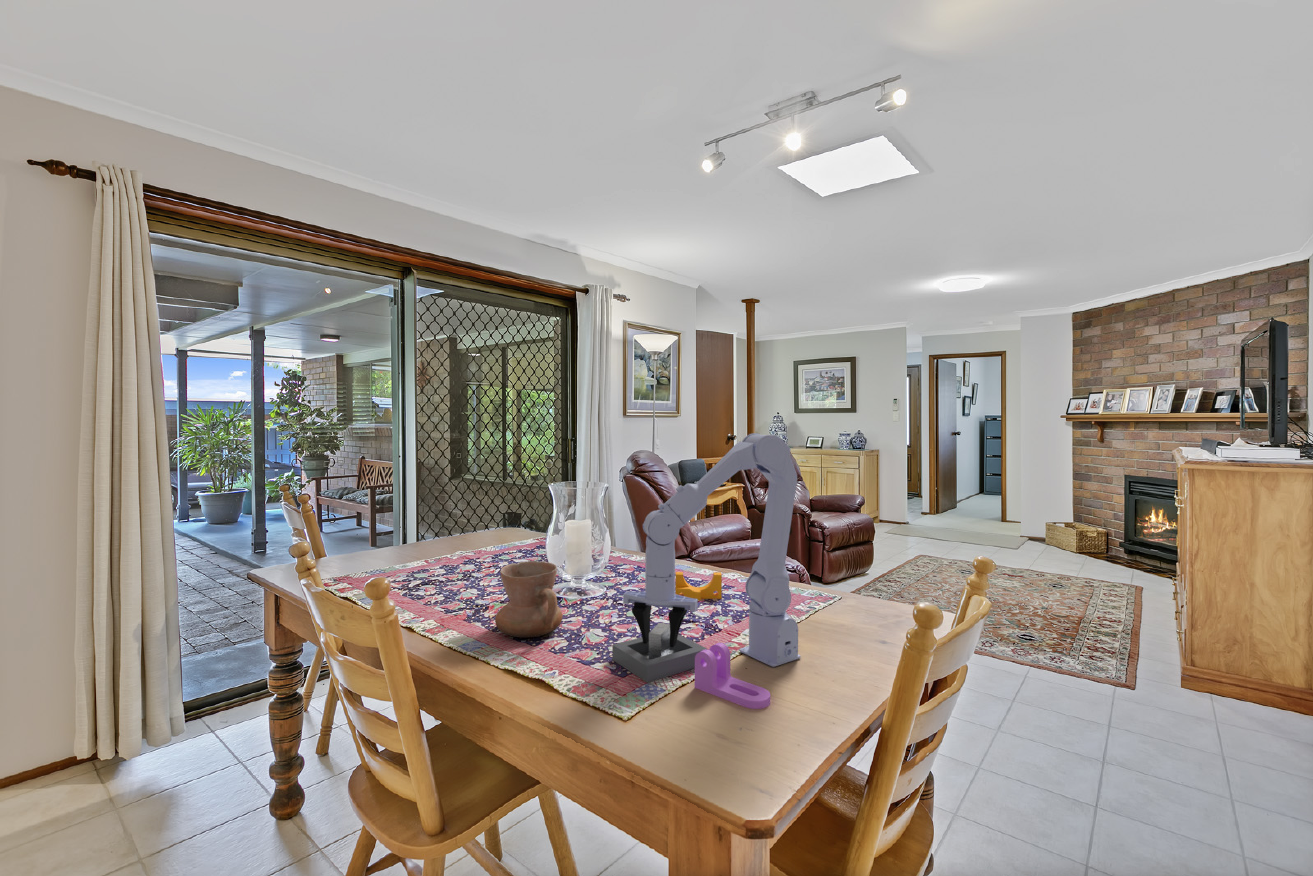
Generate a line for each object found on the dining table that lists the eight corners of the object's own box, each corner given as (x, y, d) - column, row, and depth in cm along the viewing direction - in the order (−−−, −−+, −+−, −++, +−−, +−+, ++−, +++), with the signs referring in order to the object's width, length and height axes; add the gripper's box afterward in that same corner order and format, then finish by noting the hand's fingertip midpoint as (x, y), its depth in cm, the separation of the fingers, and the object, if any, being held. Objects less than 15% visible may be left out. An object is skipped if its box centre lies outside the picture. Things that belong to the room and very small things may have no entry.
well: (707, 664, 114) (707, 648, 113) (647, 682, 106) (647, 666, 105) (670, 644, 123) (670, 630, 123) (612, 659, 115) (612, 644, 115)
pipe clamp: (675, 601, 153) (675, 576, 153) (675, 596, 157) (675, 571, 157) (722, 601, 153) (722, 576, 153) (720, 596, 157) (720, 572, 157)
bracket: (694, 688, 104) (694, 649, 104) (713, 678, 108) (713, 640, 108) (759, 713, 95) (759, 670, 95) (776, 700, 100) (777, 660, 99)
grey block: (674, 654, 117) (674, 624, 117) (664, 666, 111) (664, 635, 111) (655, 652, 118) (655, 622, 118) (644, 663, 112) (644, 632, 112)
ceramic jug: (481, 628, 132) (480, 565, 131) (538, 613, 142) (538, 554, 141) (521, 654, 119) (521, 584, 118) (581, 636, 128) (581, 571, 127)
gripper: (702, 572, 115) (701, 641, 116) (632, 565, 120) (632, 631, 120) (692, 581, 109) (691, 654, 109) (619, 574, 113) (618, 644, 114)
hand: (659, 643), depth 114 cm, fingers open, 5 cm apart
